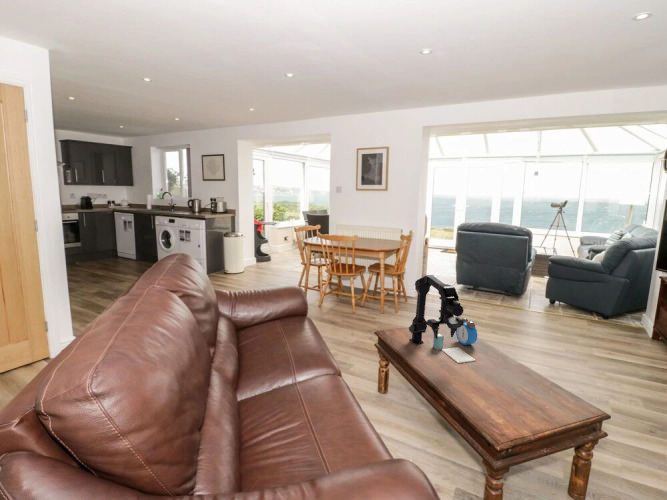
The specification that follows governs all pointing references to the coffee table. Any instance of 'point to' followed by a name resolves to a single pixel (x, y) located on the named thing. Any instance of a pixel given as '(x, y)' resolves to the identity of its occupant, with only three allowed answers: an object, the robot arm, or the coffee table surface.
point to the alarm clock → (467, 333)
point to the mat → (458, 355)
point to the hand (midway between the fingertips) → (444, 337)
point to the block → (438, 342)
